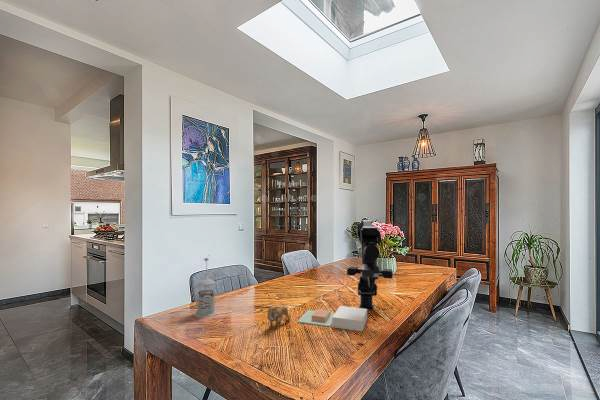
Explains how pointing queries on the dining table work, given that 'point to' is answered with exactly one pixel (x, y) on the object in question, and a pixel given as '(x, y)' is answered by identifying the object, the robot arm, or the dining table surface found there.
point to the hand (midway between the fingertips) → (369, 292)
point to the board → (350, 318)
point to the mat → (308, 320)
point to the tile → (321, 315)
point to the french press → (209, 307)
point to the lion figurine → (277, 315)
